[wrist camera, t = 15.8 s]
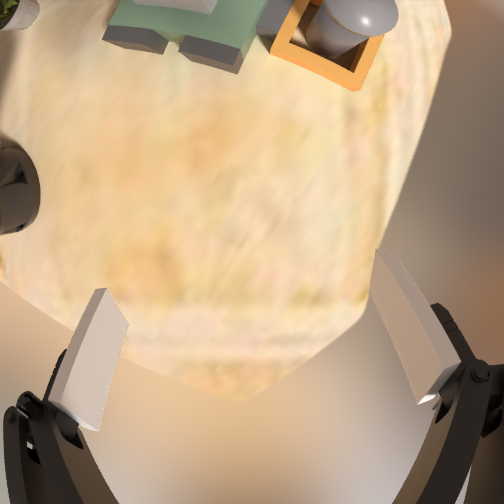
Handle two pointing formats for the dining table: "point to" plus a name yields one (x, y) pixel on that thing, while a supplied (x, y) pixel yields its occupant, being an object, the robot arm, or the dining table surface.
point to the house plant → (17, 14)
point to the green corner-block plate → (229, 33)
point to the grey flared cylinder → (349, 24)
